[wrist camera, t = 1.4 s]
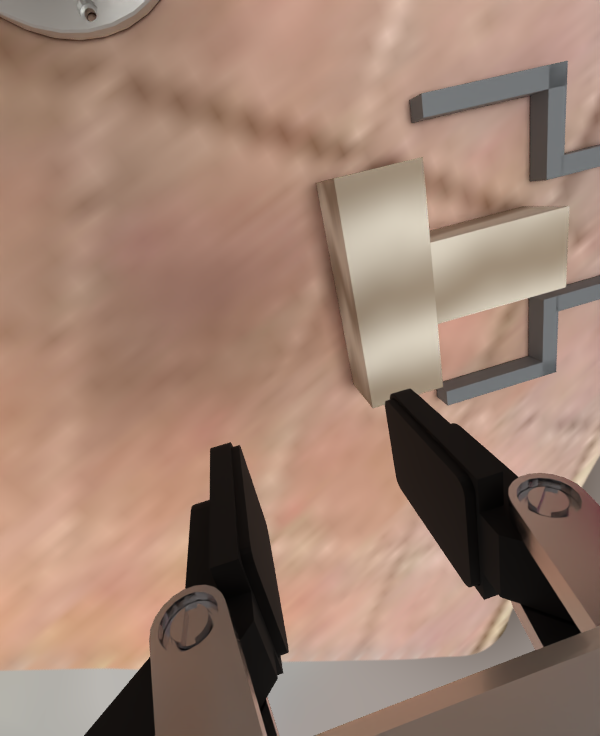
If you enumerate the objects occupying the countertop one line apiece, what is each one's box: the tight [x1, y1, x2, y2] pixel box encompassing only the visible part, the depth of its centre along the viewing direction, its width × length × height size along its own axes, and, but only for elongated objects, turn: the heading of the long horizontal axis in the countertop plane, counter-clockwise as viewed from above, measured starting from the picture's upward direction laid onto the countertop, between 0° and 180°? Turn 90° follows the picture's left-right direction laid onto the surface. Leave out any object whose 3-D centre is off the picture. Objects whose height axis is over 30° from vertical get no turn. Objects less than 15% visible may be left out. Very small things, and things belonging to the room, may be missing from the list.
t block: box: [316, 157, 569, 408], centre depth 26 cm, size 14×14×4 cm
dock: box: [410, 61, 600, 405], centre depth 28 cm, size 20×18×2 cm
